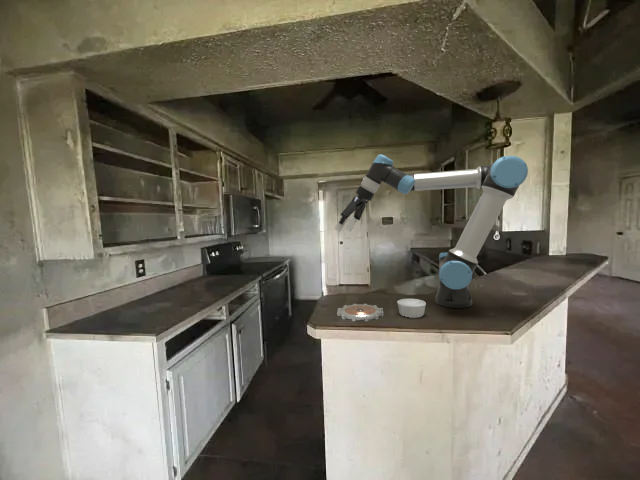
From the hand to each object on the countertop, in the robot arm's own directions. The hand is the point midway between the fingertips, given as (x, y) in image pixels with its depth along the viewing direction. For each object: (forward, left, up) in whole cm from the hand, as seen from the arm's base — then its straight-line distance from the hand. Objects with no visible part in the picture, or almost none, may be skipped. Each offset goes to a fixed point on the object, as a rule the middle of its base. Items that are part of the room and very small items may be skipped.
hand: (342, 230), depth 143 cm
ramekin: (-23, +20, -35) cm, 47 cm away
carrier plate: (-3, +14, -35) cm, 37 cm away
